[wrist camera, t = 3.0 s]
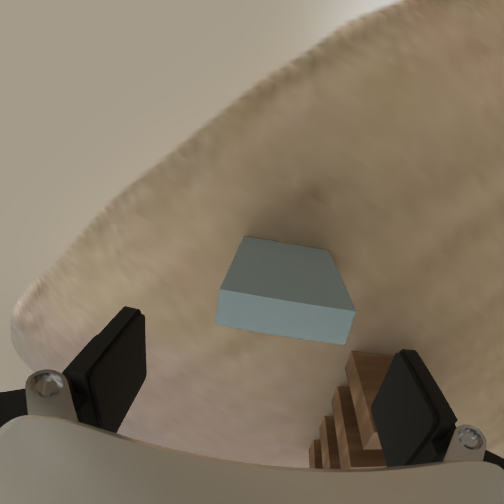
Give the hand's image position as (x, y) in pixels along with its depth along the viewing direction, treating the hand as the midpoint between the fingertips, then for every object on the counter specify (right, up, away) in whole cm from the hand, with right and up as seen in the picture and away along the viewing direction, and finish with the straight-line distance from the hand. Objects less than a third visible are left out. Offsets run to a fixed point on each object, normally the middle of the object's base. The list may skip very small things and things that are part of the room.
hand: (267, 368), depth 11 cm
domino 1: (+2, +4, +11) cm, 12 cm away
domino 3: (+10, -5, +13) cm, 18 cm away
